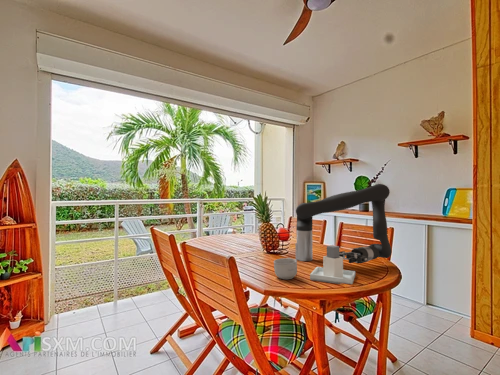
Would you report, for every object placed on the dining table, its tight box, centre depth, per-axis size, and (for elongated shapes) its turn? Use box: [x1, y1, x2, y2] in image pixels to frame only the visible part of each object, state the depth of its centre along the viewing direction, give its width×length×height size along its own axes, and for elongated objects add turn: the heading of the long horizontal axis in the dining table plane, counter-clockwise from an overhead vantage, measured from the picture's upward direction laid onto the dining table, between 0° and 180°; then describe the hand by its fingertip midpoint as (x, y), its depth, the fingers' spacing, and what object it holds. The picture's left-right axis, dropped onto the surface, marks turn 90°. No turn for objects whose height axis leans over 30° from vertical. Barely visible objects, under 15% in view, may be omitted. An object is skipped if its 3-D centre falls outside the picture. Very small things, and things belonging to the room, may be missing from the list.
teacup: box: [273, 257, 298, 280], centre depth 128 cm, size 14×11×8 cm
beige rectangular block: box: [322, 255, 344, 278], centre depth 125 cm, size 6×6×9 cm
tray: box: [309, 266, 356, 286], centre depth 125 cm, size 18×14×2 cm
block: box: [326, 244, 340, 259], centre depth 125 cm, size 4×4×13 cm
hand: (341, 259), depth 129 cm, fingers open, 8 cm apart
